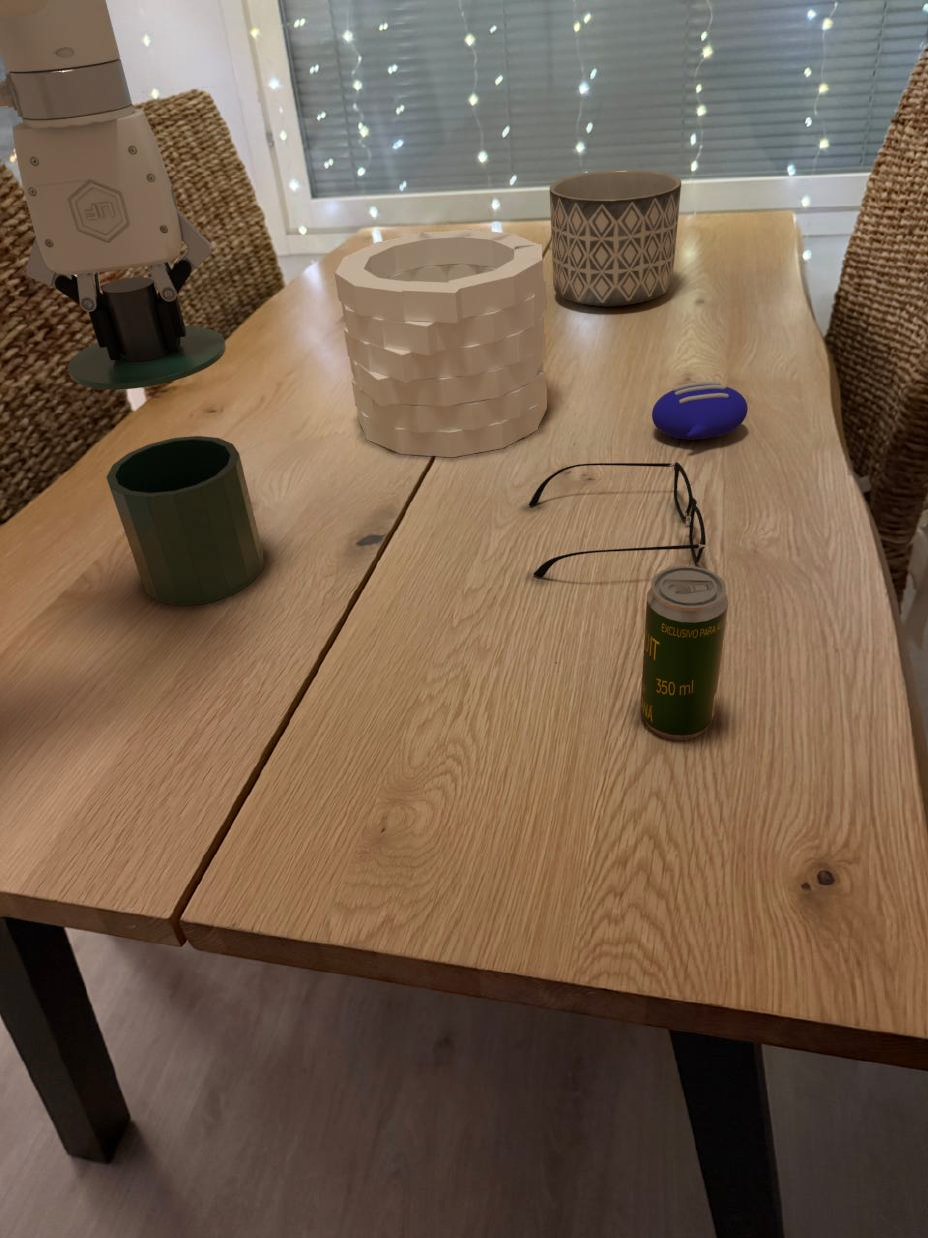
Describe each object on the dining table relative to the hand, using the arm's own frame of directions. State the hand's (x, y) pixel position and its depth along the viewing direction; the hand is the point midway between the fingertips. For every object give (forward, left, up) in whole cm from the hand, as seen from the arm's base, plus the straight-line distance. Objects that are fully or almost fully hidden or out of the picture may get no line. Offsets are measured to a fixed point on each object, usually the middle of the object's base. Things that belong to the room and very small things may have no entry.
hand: (145, 347), depth 75 cm
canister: (-1, +1, -23) cm, 23 cm away
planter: (+21, +86, -23) cm, 91 cm away
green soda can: (+46, -8, -23) cm, 52 cm away
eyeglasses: (+36, +16, -23) cm, 45 cm away
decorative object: (+41, +39, -23) cm, 61 cm away
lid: (0, 0, -1) cm, 1 cm away
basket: (+11, +39, -23) cm, 46 cm away
